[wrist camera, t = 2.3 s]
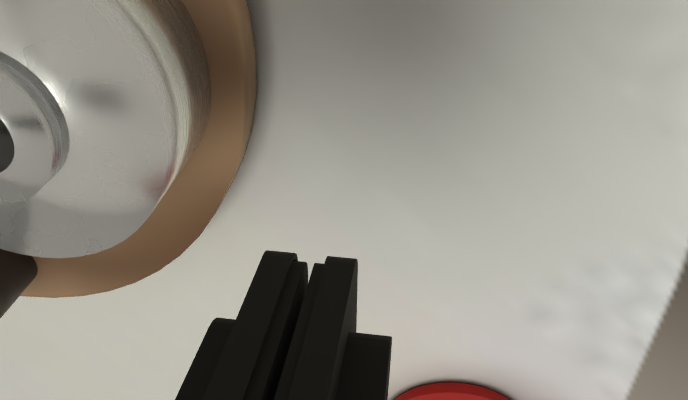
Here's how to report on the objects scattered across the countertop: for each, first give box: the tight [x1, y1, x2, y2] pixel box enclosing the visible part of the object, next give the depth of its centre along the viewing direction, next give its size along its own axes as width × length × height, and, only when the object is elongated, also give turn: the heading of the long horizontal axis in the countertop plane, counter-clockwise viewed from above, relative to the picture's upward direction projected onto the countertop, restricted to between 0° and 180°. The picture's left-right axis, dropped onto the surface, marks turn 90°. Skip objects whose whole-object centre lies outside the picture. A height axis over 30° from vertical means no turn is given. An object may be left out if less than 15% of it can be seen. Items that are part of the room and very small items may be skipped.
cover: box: [0, 0, 211, 258], centre depth 18 cm, size 10×10×5 cm
